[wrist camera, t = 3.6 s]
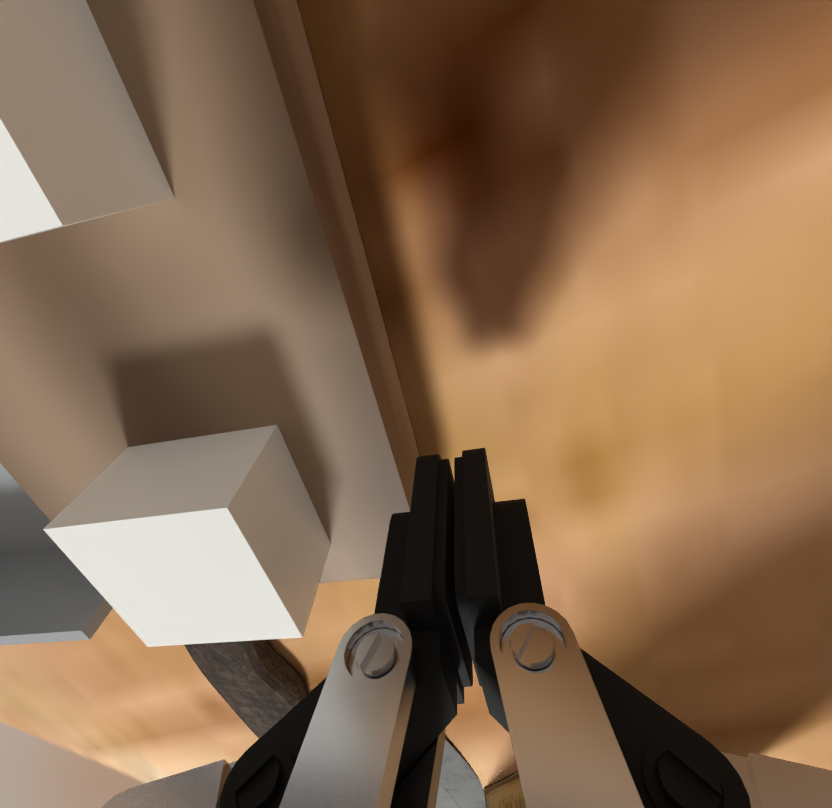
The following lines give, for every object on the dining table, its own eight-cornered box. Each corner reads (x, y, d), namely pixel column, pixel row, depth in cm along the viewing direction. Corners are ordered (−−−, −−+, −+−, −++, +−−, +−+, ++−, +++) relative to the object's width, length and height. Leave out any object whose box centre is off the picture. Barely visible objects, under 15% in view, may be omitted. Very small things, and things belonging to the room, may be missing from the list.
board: (232, -240, 8) (125, -415, 5) (433, 506, 17) (429, 574, 14) (-238, -33, 10) (-479, -89, 7) (164, 535, 19) (118, 599, 16)
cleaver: (154, 602, 22) (127, 645, 20) (329, 564, 20) (316, 609, 18) (393, 820, 36) (390, 857, 34) (513, 815, 33) (517, 854, 32)
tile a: (277, 424, 12) (227, 507, 9) (330, 544, 14) (302, 637, 11) (127, 446, 12) (43, 529, 10) (201, 556, 15) (147, 646, 12)
